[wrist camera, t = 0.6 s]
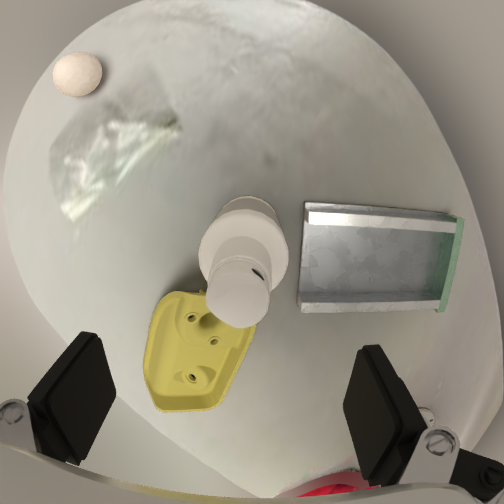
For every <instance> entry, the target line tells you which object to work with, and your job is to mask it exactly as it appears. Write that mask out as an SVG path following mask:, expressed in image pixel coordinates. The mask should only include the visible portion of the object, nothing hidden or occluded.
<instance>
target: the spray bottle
mask: <svg viewBox="0 0 504 504" xmlns="http://www.w3.org/2000/svg"><path fill="white" fill-rule="evenodd" d="M198 256H199V265H200V269H201V271H202V273H203V276H204V278H205V280H206V281H207V284H208V288H207V292H206V297H205V299H206V306H207V307H208V308H209V310H210V311H211V313H213V314H214V315H215V316H216V317H217V318H218V319H220V320H221V321H223V322H224V323H226V324H228V325H230V326H232V327H234V328H237V329H238V328H247V327H250V326H253V325H255V324H256V323H258V322H259V321H261V320H262V318H263V317H264V316H265V315H266V313H267V311H268V308H269V305H270V299H269V297H270V293H271V290H273V289H274V288H276V287H277V285H278V284H279V283H280V281H281V280H282V278H283V277H284V275H285V272H286V269H287V266H288V263H289V257H288V247H287V244H286V241H285V238H284V235H283V232H282V229H281V226H280V223H279V220H278V218H277V215H276V212H275V211H274V210H273V208H272V207H271V206H270V205H269V204H268V203H267V202H265V201H264V200H262V199H260V198H257V197H253V196H241V197H238V198H235V199H233V200H231V201H230V202H228V203H227V204H226V205H225V206H224V207H223V208H222V209H221V211H220V212H219V214H218V215H217V216H216V218H215V219H214V221H213V222H212V224H211V225H210V227H209V228H208V230H207V231H206V233H205V234H204V236H203V238H202V239H201V243H200V247H199V252H198Z"/></svg>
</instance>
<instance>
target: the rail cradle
mask: <svg viewBox="0 0 504 504" xmlns="http://www.w3.org/2000/svg"><path fill="white" fill-rule="evenodd" d="M463 225H464V219H462V218H460V217H457V216H454V215H449V214H444V213H441V212H432V211H423V210H413V209H403V208H392V207H381V206H369V205H355V204H341V203H325V202H307V201H304V214H303V229H302V243H301V256H300V269H299V280H298V292H297V302H296V303H297V306H299V308H300V312H301V313H338V312H382V311H406V310H425V309H434V310H435V311H436V312H437V313H438V312H444V311H445V307H446V304H447V300H448V297H449V293H450V289H451V285H452V281H453V277H454V272H455V268H456V263H457V259H458V254H459V248H460V243H461V237H462V231H463Z"/></svg>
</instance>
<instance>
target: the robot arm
mask: <svg viewBox="0 0 504 504" xmlns="http://www.w3.org/2000/svg"><path fill="white" fill-rule="evenodd" d="M115 397H116V388H115V385H114V382H113V379H112V376H111V372H110V369H109V366H108V362H107V359H106V355H105V351H104V348H103V344H102V340H101V339H100V338H99V337H98V336H97V334H95V333H91V332H84V331H82V332H81V333H80V334H79V335H78V336H77V337H76V338H75V339H74V340H73V342H72V343H71V344H70V345H69V346H68V347H67V349H66V350H65V351H64V352H63V354H62V355H61V356H60V357H59V358H58V359H57V361H56V362H55V363H54V364H53V366H52V367H51V368H50V369H49V371H48V372H47V373H46V374H45V375H44V377H43V378H42V379H41V380H40V382H39V383H38V384H37V385H36V387H35V388H34V389H33V390H32V392H31V393H30V394H29V396H28V400H29V401H28V403H27V404H26V403H25V402H24V401H22V400H19V399H10V400H7V401H5V402H3V403H1V405H0V504H504V465H503V464H502V463H500V462H498V461H495V460H492V459H489V458H486V457H483V456H480V455H477V454H475V453H472V452H469V451H466V450H463V449H461V448H460V441H459V438H458V436H457V435H456V433H455V432H453V431H452V430H451V429H449V428H447V427H443V426H433V425H434V422H435V417H434V415H433V413H432V412H431V411H430V410H428V409H424V408H422V409H418V407H417V405H416V404H415V402H414V400H413V398H412V396H411V395H410V393H409V391H408V389H407V387H406V386H405V384H404V382H403V380H402V379H401V378H399V377H398V375H397V374H396V372H395V370H394V368H393V367H392V365H391V363H390V361H389V360H388V358H387V356H386V355H385V353H384V351H383V349H382V348H381V346H380V345H378V344H377V345H364V346H363V348H362V349H361V350H358V352H357V355H356V359H355V363H354V367H353V370H352V374H351V378H350V381H349V385H348V388H347V392H346V395H345V398H344V402H343V410H344V414H345V417H346V420H347V424H348V427H349V431H350V434H351V437H352V441H353V444H354V448H355V451H356V455H357V459H358V462H359V466H360V469H361V473H362V477H363V479H364V480H368V482H369V486H370V487H371V486H376V485H381V487H380V488H373V489H367V490H361V491H355V492H348V493H341V494H332V495H322V496H312V497H298V498H230V497H216V496H204V495H196V494H188V493H181V492H174V491H168V490H163V489H157V488H152V487H147V486H143V485H138V484H134V483H129V482H125V481H121V480H117V479H114V478H110V477H106V476H103V475H100V474H97V473H93V472H90V471H87V470H84V469H81V468H78V467H75V466H72V465H69V464H67V463H65V462H66V461H67V462H69V463H72V464H74V465H77V466H79V465H80V462H81V460H85V459H86V457H87V455H88V452H89V450H90V448H91V446H92V444H93V442H94V440H95V438H96V436H97V434H98V432H99V430H100V428H101V426H102V424H103V422H104V420H105V418H106V415H107V414H108V412H109V409H110V408H111V406H112V403H113V402H114V400H115Z"/></svg>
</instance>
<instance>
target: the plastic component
mask: <svg viewBox="0 0 504 504" xmlns="http://www.w3.org/2000/svg"><path fill="white" fill-rule="evenodd" d="M205 297H206V292H203V290H200V291H199V293H192V292H183V291H173V292H170V293H168V294H167V295H166V296H164V297H163V298H162V299H161V301H160V302H159V303H158V305H157V307H156V309H155V311H154V313H153V316H152V319H151V323H150V327H149V332H148V338H147V343H146V348H145V354H144V360H143V373H144V378H145V382H146V385H147V388H148V390H149V393H150V395H151V398H152V400H153V403H154V405H155V407H156V409H158V410H159V411H161V412H191V411H205V410H209V409H212V408H214V407H216V406H218V405H219V404H220V403H221V402H222V401H223V399H224V397H225V395H226V393H227V391H228V389H229V387H230V385H231V383H232V381H233V379H234V377H235V375H236V373H237V371H238V368H239V366H240V364H241V362H242V360H243V358H244V356H245V354H246V352H247V350H248V347H249V345H250V343H251V340H252V338H253V335H254V332H255V329H256V324H255V325H253V326H250V327H247V328H238V329H237V328H234V327H232V326H230V325H228V324H226V323H224V322H223V321H221V320H220V319H218V318H217V317H216V316H215V315H214V314H213V313H211V311H210V310H209V308H208V307H207V306H206V299H205ZM191 315H192V316H193V317H192V318H188V317H189V316H191ZM191 374H193V375H194V376H195V377H196V379H195V378H193V377H192V376H191Z"/></svg>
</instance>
